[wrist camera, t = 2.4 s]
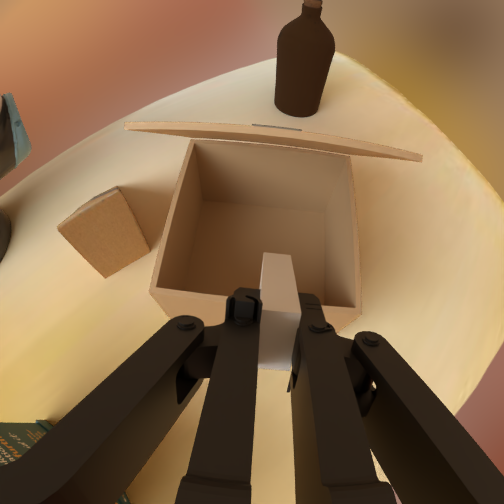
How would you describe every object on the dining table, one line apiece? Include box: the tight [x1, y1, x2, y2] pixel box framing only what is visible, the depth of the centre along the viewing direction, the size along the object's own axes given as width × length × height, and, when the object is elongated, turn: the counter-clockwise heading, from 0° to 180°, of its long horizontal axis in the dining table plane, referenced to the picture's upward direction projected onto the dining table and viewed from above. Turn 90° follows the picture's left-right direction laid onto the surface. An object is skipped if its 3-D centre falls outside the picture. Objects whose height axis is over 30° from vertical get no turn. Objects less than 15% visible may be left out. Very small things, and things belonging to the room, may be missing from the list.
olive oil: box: [275, 0, 335, 117], centre depth 49 cm, size 11×11×25 cm
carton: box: [149, 139, 362, 333], centre depth 38 cm, size 20×20×13 cm
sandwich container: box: [57, 186, 150, 278], centre depth 39 cm, size 9×15×15 cm, turn 34°
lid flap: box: [124, 122, 423, 162], centre depth 27 cm, size 20×20×1 cm
